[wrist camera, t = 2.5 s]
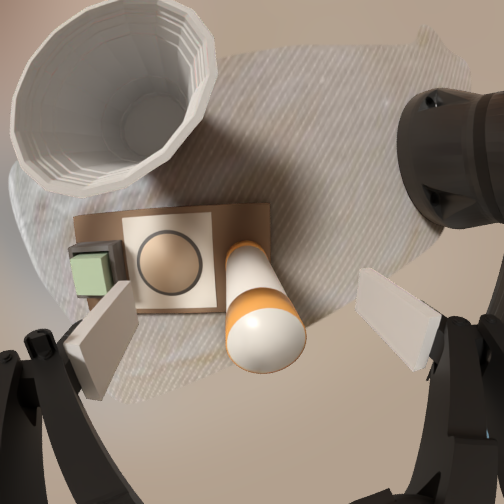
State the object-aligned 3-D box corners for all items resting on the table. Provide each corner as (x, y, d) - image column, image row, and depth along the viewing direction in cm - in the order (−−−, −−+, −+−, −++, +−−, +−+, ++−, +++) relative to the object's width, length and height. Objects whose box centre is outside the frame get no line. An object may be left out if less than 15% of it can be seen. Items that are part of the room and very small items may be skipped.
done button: (110, 251, 20) (100, 258, 18) (116, 286, 21) (107, 295, 19) (81, 252, 20) (69, 259, 18) (87, 286, 20) (77, 294, 18)
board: (268, 202, 22) (274, 205, 19) (268, 304, 24) (274, 319, 22) (78, 215, 21) (61, 220, 18) (94, 307, 23) (81, 321, 20)
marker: (266, 239, 22) (309, 303, 10) (266, 278, 23) (303, 369, 11) (224, 241, 22) (222, 309, 10) (226, 280, 22) (228, 376, 11)
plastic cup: (239, 162, 21) (254, 139, 10) (119, 208, 21) (33, 236, 10) (201, 51, 18) (185, -38, 7) (89, 100, 18) (7, 59, 7)
